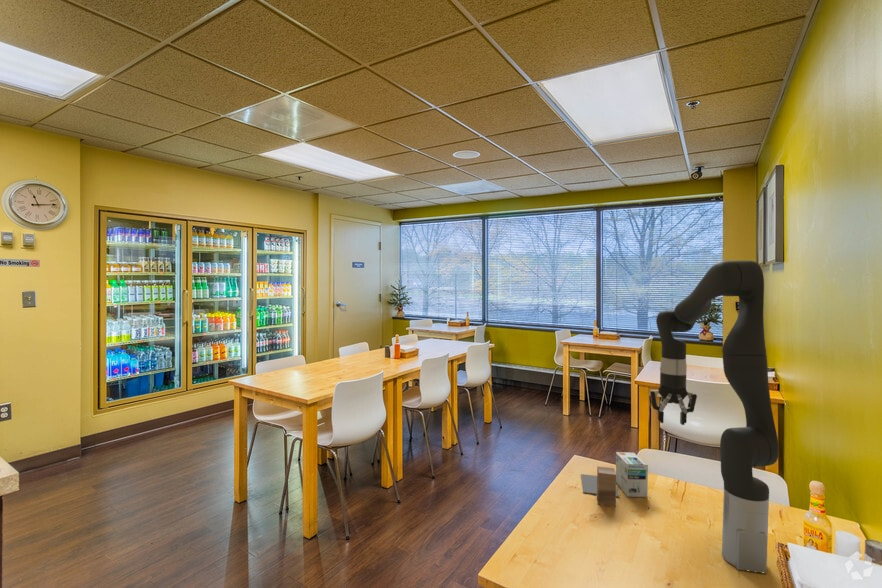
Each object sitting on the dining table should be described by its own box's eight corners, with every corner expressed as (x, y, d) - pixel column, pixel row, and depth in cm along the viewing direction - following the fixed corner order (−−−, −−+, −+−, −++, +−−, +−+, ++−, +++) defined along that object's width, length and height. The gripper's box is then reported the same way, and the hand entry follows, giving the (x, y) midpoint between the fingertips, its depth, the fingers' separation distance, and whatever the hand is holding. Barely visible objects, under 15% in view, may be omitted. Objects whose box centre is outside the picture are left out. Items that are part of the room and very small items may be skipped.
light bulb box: (648, 497, 141) (648, 464, 141) (627, 497, 141) (627, 464, 141) (634, 482, 152) (634, 451, 151) (614, 482, 152) (615, 451, 151)
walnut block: (615, 506, 135) (616, 474, 135) (598, 504, 136) (598, 472, 136) (613, 499, 140) (614, 468, 139) (596, 497, 141) (597, 466, 141)
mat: (619, 497, 141) (619, 496, 141) (583, 493, 143) (583, 491, 143) (613, 478, 154) (613, 477, 154) (580, 475, 157) (580, 474, 157)
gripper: (651, 372, 140) (650, 424, 141) (701, 375, 137) (700, 429, 137) (646, 368, 148) (645, 418, 148) (694, 370, 144) (692, 421, 144)
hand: (671, 423), depth 143 cm, fingers open, 5 cm apart
